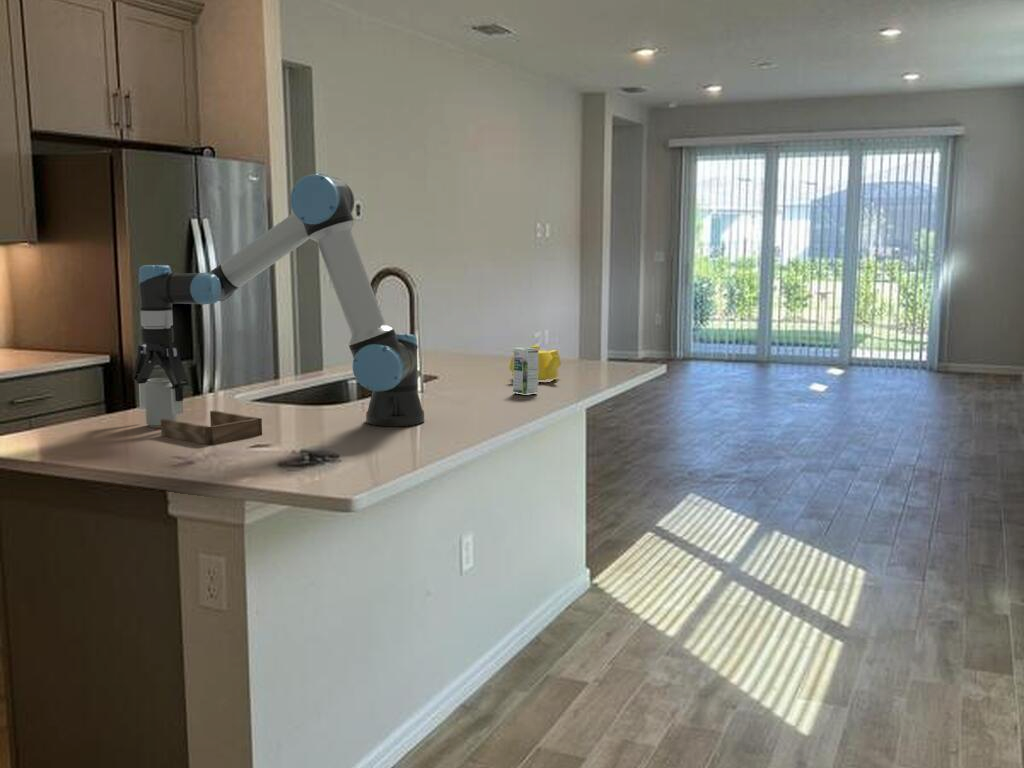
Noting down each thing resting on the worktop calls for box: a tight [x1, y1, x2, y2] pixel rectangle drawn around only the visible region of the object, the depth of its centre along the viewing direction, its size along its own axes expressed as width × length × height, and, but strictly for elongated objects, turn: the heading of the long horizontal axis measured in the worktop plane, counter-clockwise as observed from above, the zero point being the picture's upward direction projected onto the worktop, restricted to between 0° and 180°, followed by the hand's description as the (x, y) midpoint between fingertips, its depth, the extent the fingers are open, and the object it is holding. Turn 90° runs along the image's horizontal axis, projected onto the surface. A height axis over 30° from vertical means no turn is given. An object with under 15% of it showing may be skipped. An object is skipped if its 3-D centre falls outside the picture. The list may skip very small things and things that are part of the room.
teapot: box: [508, 345, 562, 380], centre depth 329 cm, size 17×17×12 cm
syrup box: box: [512, 346, 539, 394], centre depth 298 cm, size 6×6×14 cm
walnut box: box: [160, 410, 263, 446], centre depth 233 cm, size 18×15×4 cm
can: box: [145, 377, 179, 429], centre depth 244 cm, size 8×8×12 cm
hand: (161, 411), depth 244 cm, fingers open, 13 cm apart
